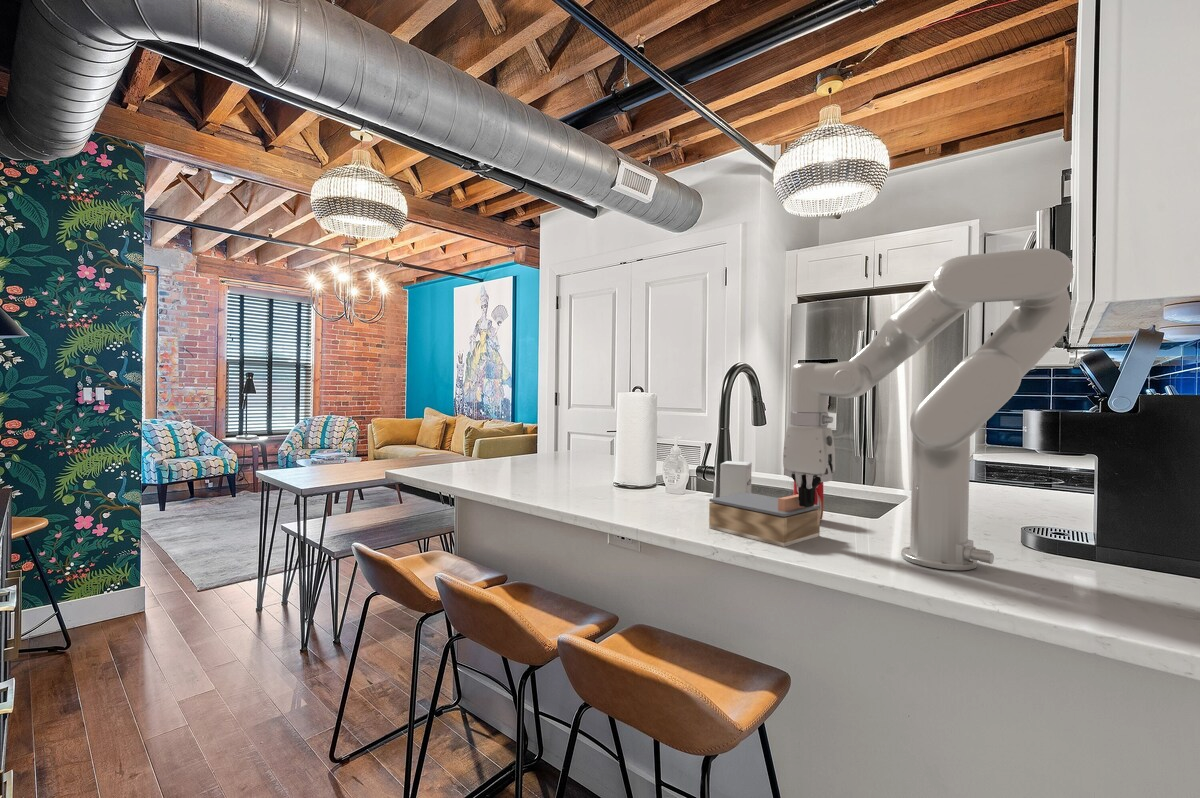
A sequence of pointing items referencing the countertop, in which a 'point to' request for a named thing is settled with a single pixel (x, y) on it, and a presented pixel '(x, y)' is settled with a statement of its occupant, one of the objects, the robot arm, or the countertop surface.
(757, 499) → the lid
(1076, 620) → the countertop surface
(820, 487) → the soda can
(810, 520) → the wooden box
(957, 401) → the robot arm
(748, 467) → the supplement box
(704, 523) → the countertop surface
